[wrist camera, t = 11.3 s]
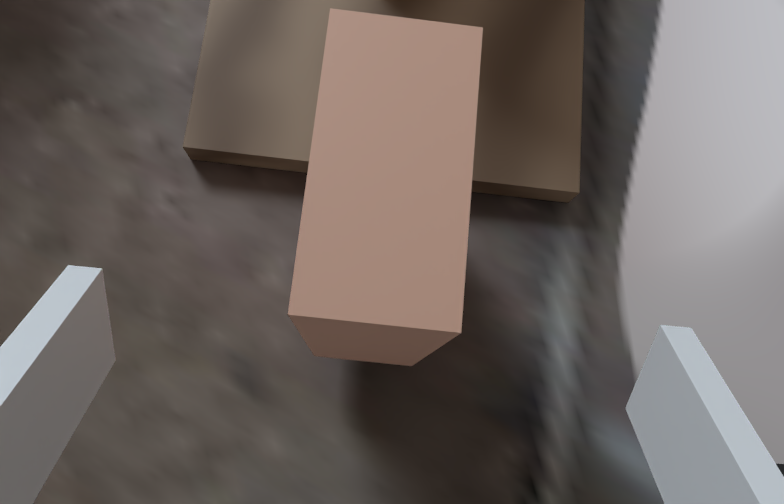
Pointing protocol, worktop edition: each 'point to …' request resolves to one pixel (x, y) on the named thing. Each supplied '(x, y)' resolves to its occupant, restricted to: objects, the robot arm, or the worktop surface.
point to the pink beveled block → (388, 189)
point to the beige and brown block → (433, 3)
